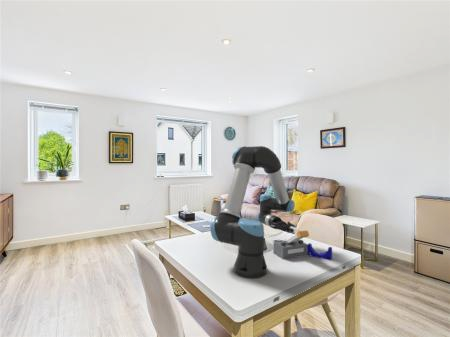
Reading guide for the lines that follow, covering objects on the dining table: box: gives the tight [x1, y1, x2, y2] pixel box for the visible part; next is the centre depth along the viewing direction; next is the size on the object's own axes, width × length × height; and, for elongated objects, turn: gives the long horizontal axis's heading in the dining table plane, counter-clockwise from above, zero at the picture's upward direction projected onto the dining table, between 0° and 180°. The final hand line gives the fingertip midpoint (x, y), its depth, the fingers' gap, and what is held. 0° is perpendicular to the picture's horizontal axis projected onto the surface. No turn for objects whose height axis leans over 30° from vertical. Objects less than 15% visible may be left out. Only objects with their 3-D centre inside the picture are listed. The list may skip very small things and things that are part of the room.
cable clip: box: [307, 242, 333, 261], centre depth 131 cm, size 12×4×6 cm, turn 59°
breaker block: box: [272, 239, 309, 260], centre depth 133 cm, size 16×9×8 cm, turn 111°
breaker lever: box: [285, 230, 310, 244], centre depth 128 cm, size 6×3×14 cm
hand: (298, 232), depth 127 cm, fingers closed
